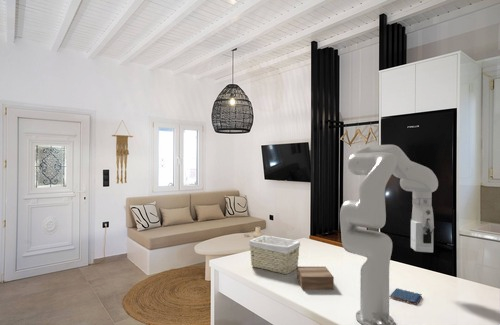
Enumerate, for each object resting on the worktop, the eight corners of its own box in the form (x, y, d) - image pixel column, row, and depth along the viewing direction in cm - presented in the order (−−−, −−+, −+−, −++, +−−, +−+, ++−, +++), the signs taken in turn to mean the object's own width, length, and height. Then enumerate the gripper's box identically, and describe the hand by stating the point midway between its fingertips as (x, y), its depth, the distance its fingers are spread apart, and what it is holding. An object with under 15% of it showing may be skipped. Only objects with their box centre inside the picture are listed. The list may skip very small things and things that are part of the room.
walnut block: (333, 290, 136) (333, 277, 136) (302, 290, 136) (302, 276, 136) (325, 278, 150) (325, 266, 150) (296, 278, 150) (297, 266, 150)
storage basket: (301, 267, 166) (301, 240, 166) (287, 276, 152) (287, 246, 152) (263, 259, 179) (263, 234, 179) (247, 267, 166) (248, 240, 166)
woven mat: (395, 291, 136) (395, 287, 136) (422, 298, 129) (422, 293, 129) (388, 299, 128) (388, 294, 128) (416, 307, 121) (416, 301, 121)
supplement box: (433, 252, 134) (434, 223, 134) (415, 251, 135) (415, 222, 135) (427, 248, 141) (427, 220, 141) (410, 247, 142) (410, 220, 142)
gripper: (442, 204, 130) (442, 246, 129) (419, 199, 147) (419, 236, 147) (424, 204, 129) (424, 245, 129) (403, 199, 147) (403, 236, 147)
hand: (421, 240), depth 138 cm, fingers closed on supplement box, 8 cm apart
